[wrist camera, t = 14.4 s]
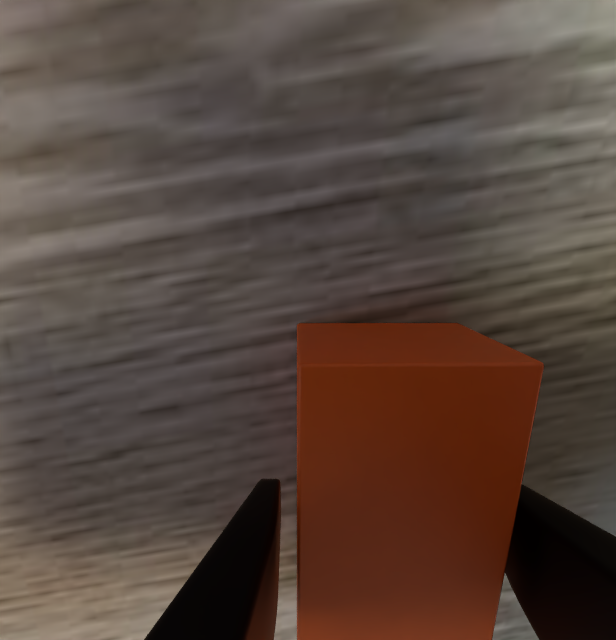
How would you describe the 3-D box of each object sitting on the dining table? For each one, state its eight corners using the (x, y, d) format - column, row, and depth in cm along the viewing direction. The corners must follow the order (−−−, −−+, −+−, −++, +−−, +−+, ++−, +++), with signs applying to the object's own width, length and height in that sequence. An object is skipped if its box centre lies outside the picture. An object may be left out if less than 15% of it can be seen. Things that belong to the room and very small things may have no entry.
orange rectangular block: (458, 322, 7) (547, 363, 4) (428, 571, 8) (481, 700, 6) (296, 322, 7) (297, 363, 4) (296, 575, 8) (297, 710, 6)
